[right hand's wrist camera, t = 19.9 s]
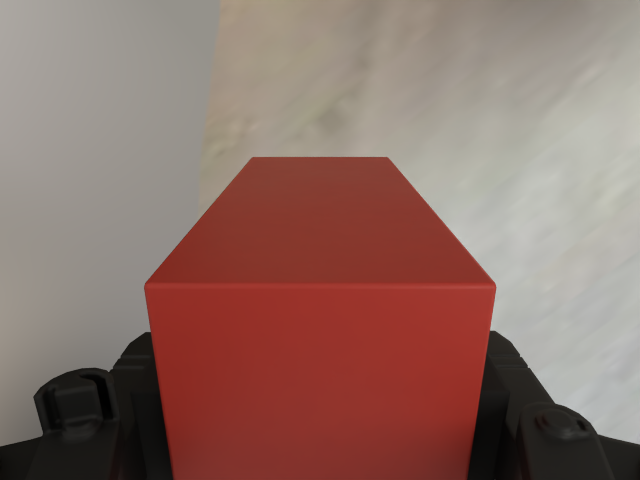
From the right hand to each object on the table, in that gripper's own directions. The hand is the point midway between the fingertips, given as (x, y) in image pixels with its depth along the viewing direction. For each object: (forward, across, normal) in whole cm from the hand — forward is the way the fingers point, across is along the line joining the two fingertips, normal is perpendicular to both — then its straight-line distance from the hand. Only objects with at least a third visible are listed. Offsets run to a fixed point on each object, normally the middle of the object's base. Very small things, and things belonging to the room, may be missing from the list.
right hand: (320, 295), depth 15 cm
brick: (+5, 0, 0) cm, 5 cm away
